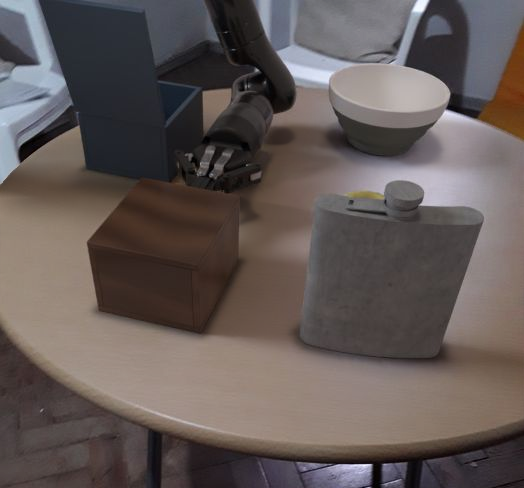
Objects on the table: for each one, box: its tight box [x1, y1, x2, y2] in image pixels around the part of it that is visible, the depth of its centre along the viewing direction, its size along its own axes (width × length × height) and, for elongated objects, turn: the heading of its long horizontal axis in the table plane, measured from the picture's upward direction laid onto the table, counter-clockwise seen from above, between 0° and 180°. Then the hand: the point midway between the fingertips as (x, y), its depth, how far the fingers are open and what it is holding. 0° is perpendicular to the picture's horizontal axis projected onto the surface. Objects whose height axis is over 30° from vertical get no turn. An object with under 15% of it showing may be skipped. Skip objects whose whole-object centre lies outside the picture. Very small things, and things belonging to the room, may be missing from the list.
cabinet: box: [86, 178, 241, 334], centre depth 74 cm, size 15×13×10 cm
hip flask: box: [298, 179, 485, 359], centre depth 64 cm, size 16×4×20 cm, turn 84°
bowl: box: [328, 62, 451, 156], centre depth 105 cm, size 20×20×10 cm
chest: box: [76, 79, 204, 183], centre depth 98 cm, size 16×14×9 cm
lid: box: [38, 0, 166, 127], centre depth 82 cm, size 16×14×1 cm
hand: (196, 199), depth 80 cm, fingers closed
